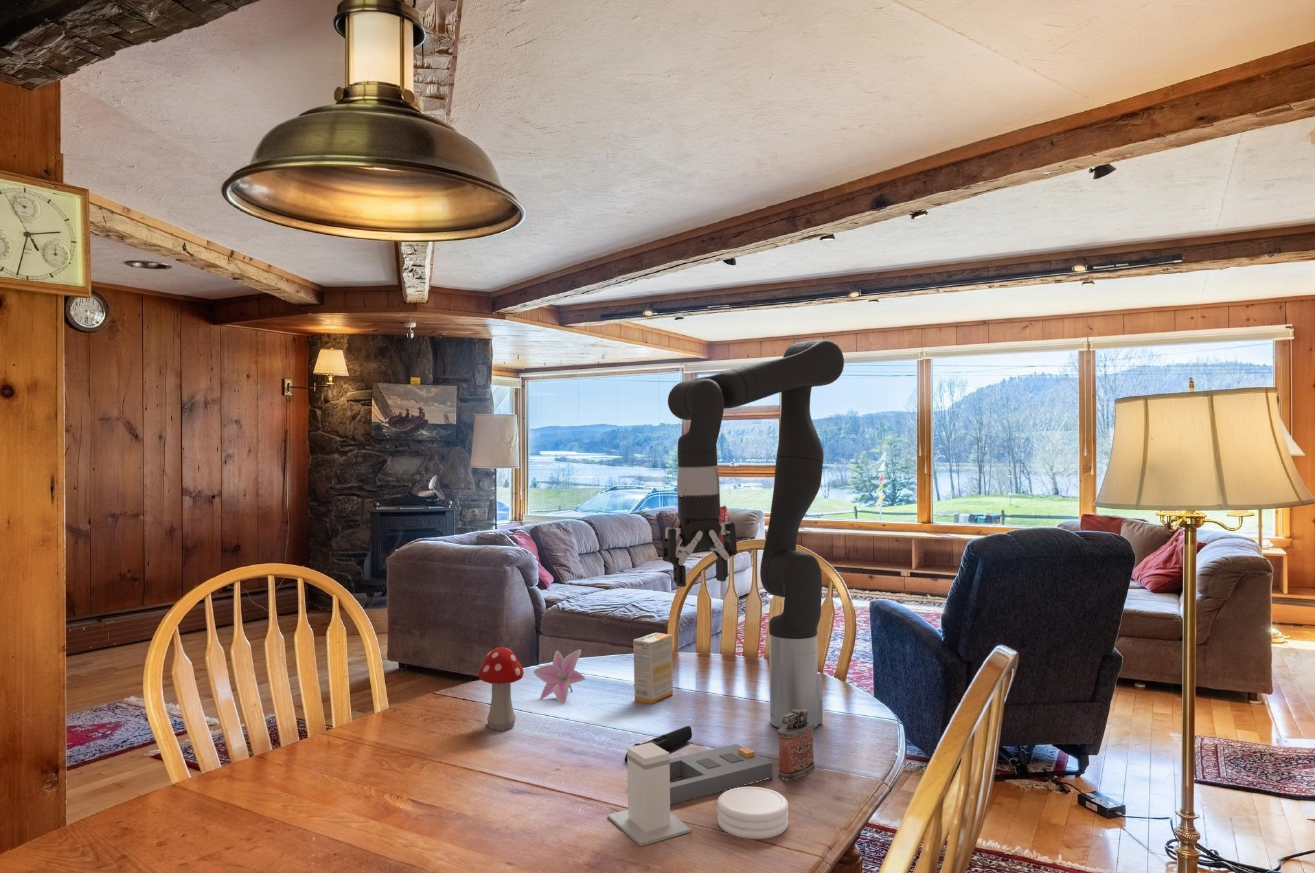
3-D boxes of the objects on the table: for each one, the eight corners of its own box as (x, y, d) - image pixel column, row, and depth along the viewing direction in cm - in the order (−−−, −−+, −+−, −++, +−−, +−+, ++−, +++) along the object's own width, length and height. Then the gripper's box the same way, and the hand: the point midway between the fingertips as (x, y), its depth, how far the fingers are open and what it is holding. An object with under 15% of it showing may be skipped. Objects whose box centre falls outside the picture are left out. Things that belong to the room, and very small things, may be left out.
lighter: (802, 762, 137) (801, 703, 137) (819, 767, 134) (818, 707, 135) (773, 776, 131) (772, 714, 131) (790, 782, 129) (789, 718, 129)
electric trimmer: (697, 744, 147) (697, 726, 147) (638, 768, 136) (638, 749, 136) (682, 740, 150) (681, 722, 150) (622, 763, 138) (622, 744, 139)
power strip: (736, 758, 139) (736, 739, 139) (772, 778, 130) (772, 758, 130) (633, 782, 129) (633, 762, 129) (665, 806, 120) (664, 784, 120)
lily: (532, 695, 181) (521, 663, 176) (576, 668, 186) (567, 636, 182) (557, 725, 172) (547, 692, 167) (603, 695, 177) (594, 662, 173)
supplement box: (655, 691, 179) (655, 631, 179) (673, 694, 176) (672, 634, 177) (633, 700, 172) (632, 638, 173) (651, 704, 170) (650, 641, 170)
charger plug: (652, 811, 118) (651, 742, 118) (670, 824, 113) (669, 752, 114) (627, 818, 116) (626, 747, 116) (645, 832, 111) (644, 758, 111)
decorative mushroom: (530, 729, 155) (529, 650, 155) (485, 736, 151) (485, 655, 152) (515, 714, 164) (515, 640, 164) (473, 721, 160) (472, 645, 161)
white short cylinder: (703, 824, 115) (702, 799, 115) (747, 803, 122) (746, 779, 122) (759, 848, 108) (759, 821, 108) (802, 823, 115) (802, 798, 115)
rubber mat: (655, 805, 121) (655, 802, 121) (691, 831, 112) (691, 828, 112) (607, 817, 117) (607, 814, 117) (640, 846, 108) (640, 843, 108)
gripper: (719, 489, 151) (722, 576, 150) (653, 493, 143) (656, 585, 143) (743, 490, 144) (746, 581, 144) (675, 495, 137) (678, 591, 137)
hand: (701, 583), depth 144 cm, fingers open, 8 cm apart
